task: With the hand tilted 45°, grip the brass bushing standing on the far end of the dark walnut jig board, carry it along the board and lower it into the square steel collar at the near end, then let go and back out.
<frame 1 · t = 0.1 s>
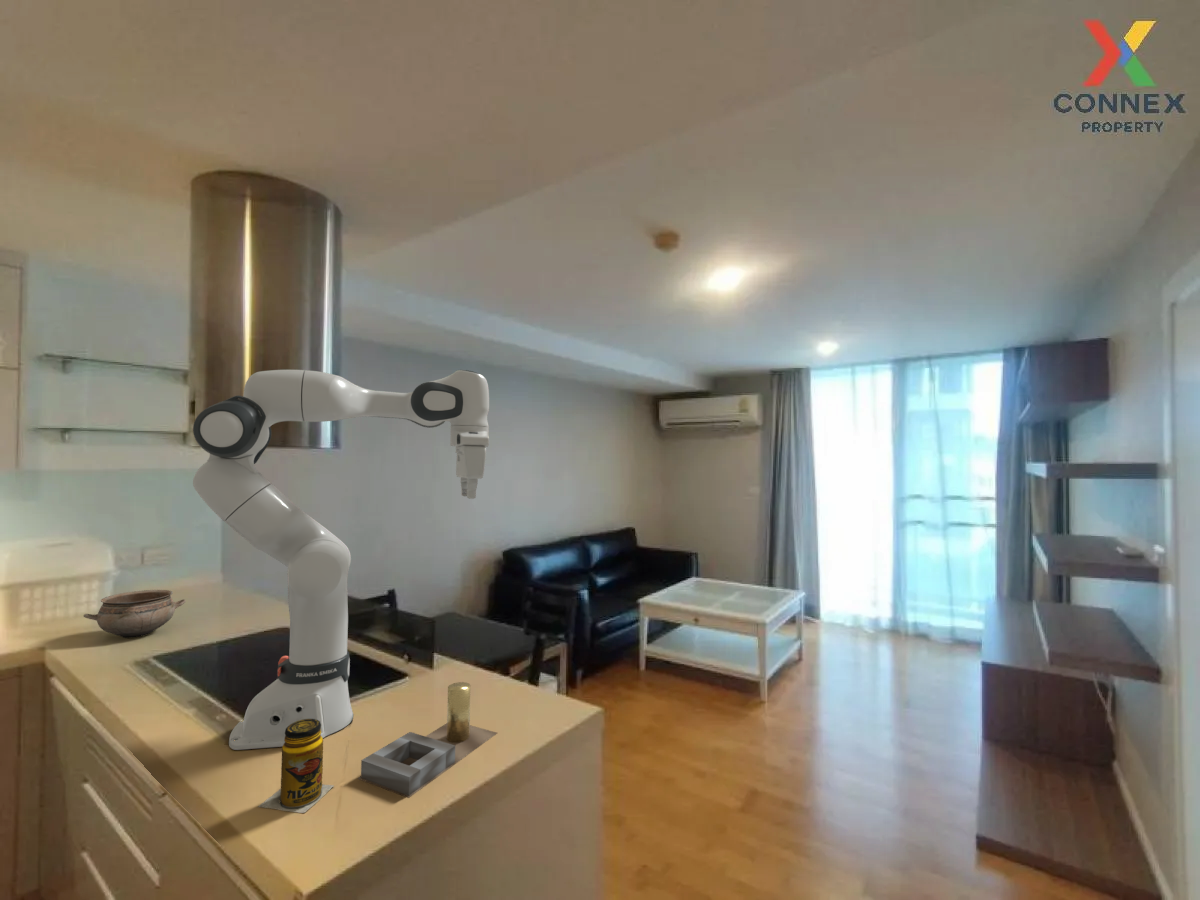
hand: (468, 497, 127), 48 cm above the counter, tool pointing down, fingers open, 8 cm apart
condiment: (297, 798, 89), on the counter
cooking pot: (136, 635, 171), on the counter
jig: (433, 759, 101), on the counter
bushing: (458, 737, 107), point 1 cm above the counter, touching jig
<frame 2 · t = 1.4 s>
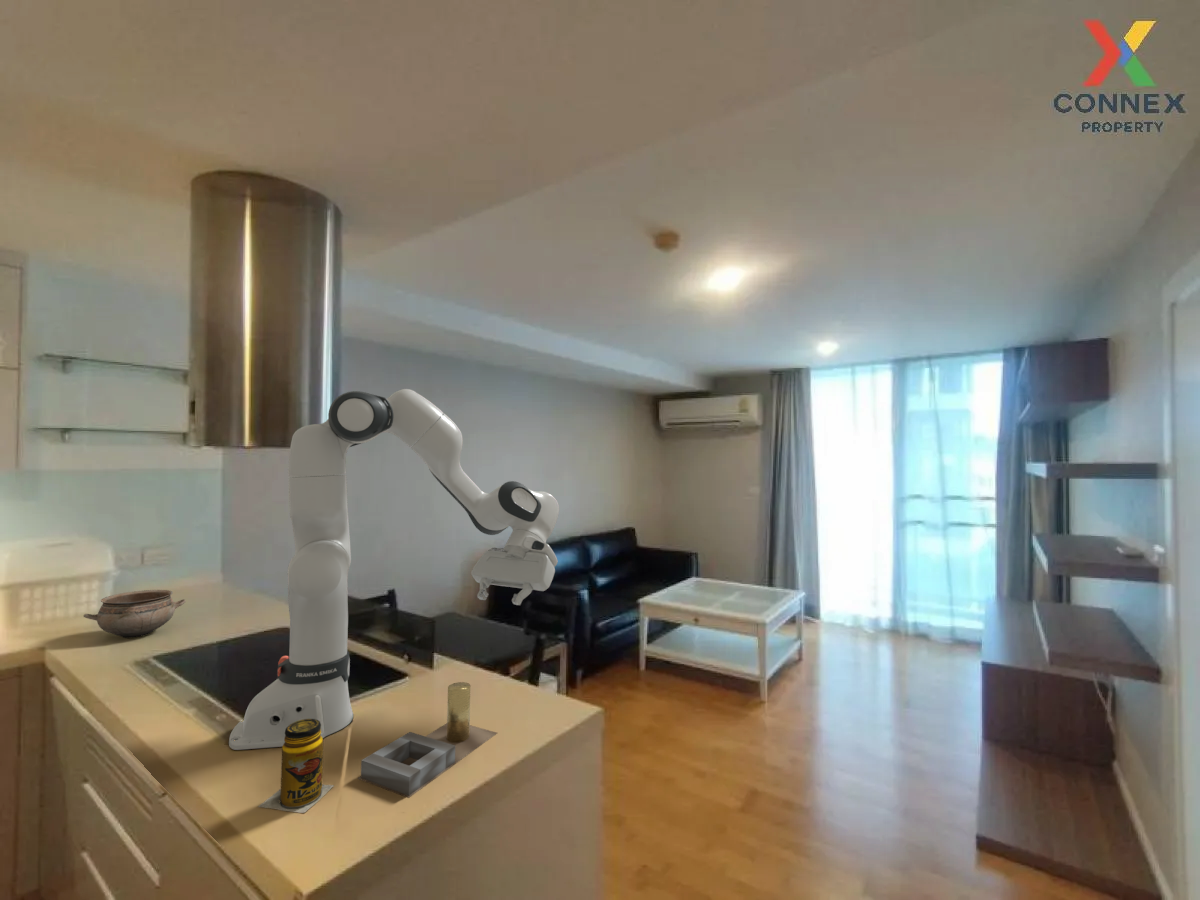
hand: (497, 601, 119), 25 cm above the counter, tool tilted 45°, fingers open, 8 cm apart
nothing on the counter moved.
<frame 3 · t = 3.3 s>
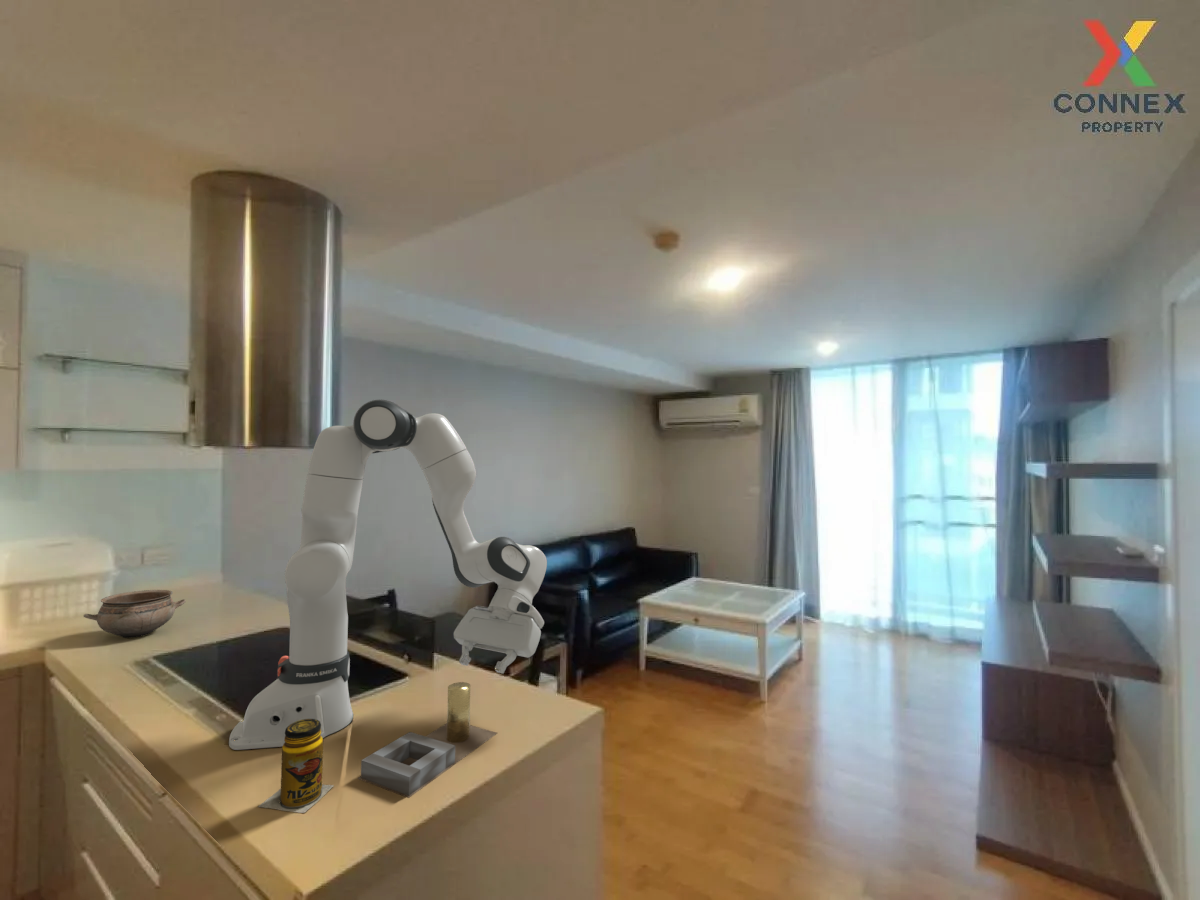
hand: (480, 667, 114), 12 cm above the counter, tool tilted 45°, fingers open, 8 cm apart
nothing on the counter moved.
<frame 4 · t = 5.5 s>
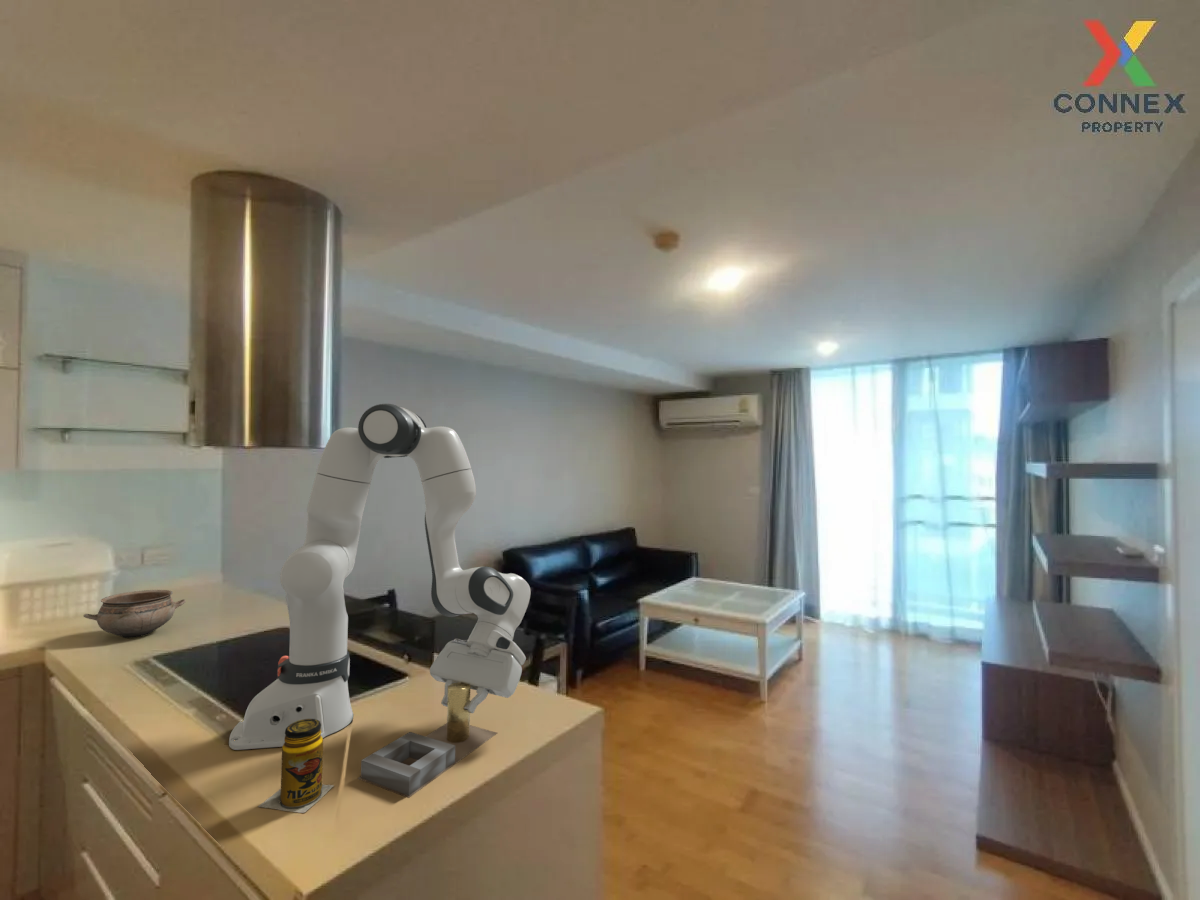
hand: (456, 708, 107), 7 cm above the counter, tool tilted 45°, fingers closed on bushing, 4 cm apart
bushing: (458, 737, 107), point 1 cm above the counter, touching gripper, jig
everything else where it was.
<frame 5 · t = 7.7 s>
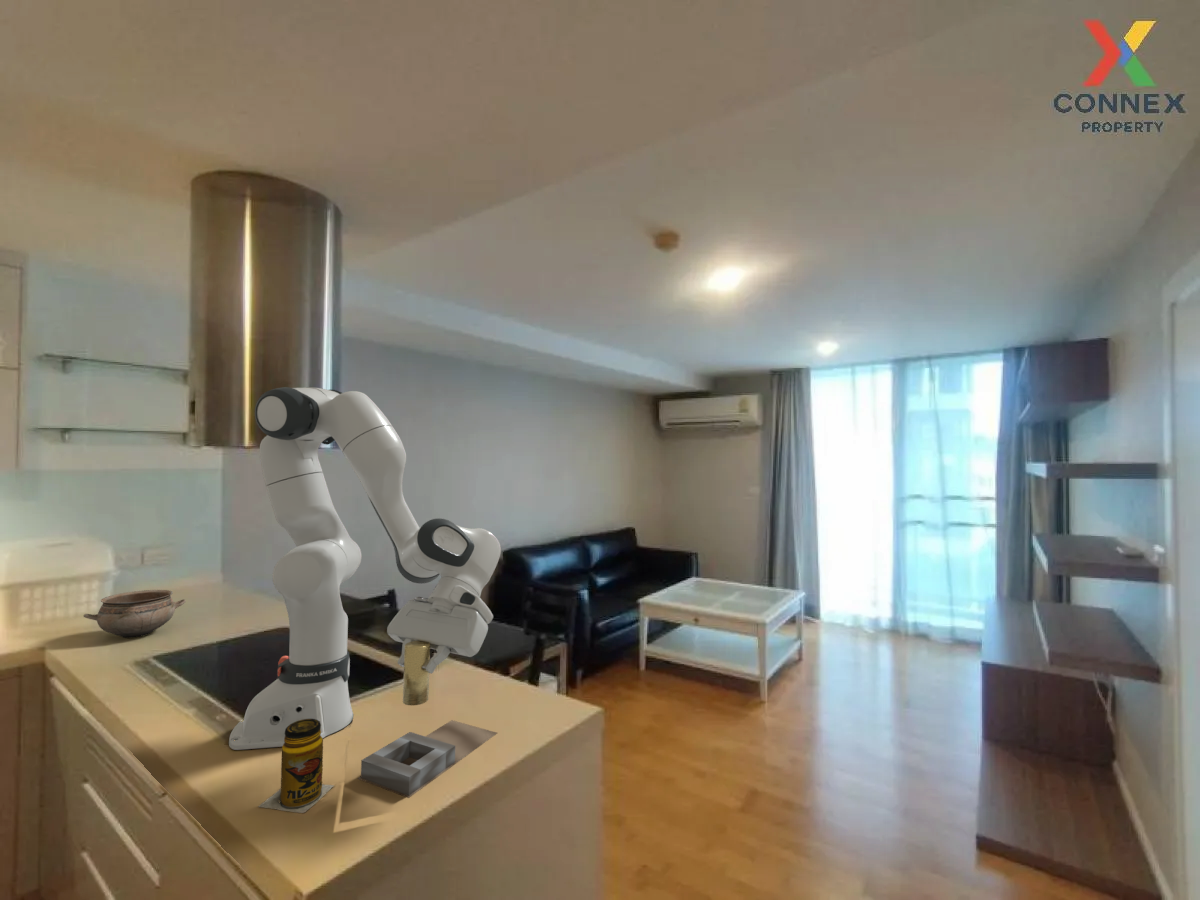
hand: (414, 668, 97), 19 cm above the counter, tool tilted 45°, fingers closed on bushing, 4 cm apart
bushing: (415, 700, 97), point 13 cm above the counter, touching gripper
everything else where it was.
when the fingers open (8 cm above the counter, at t = 10.2 s): bushing drops 1 cm, resting on jig.
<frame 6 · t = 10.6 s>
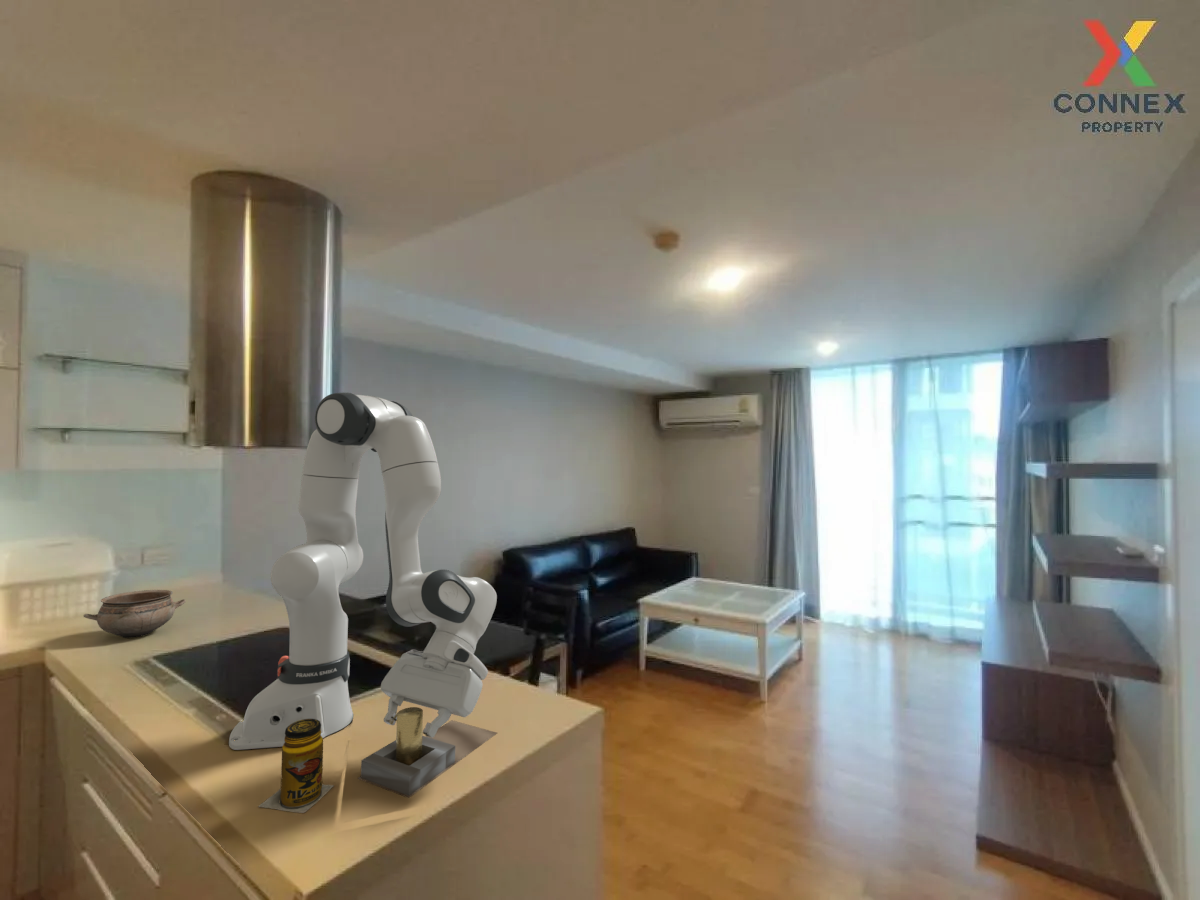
hand: (407, 729, 95), 8 cm above the counter, tool tilted 45°, fingers open, 8 cm apart
bushing: (408, 769, 96), point 1 cm above the counter, touching jig
everything else where it was.
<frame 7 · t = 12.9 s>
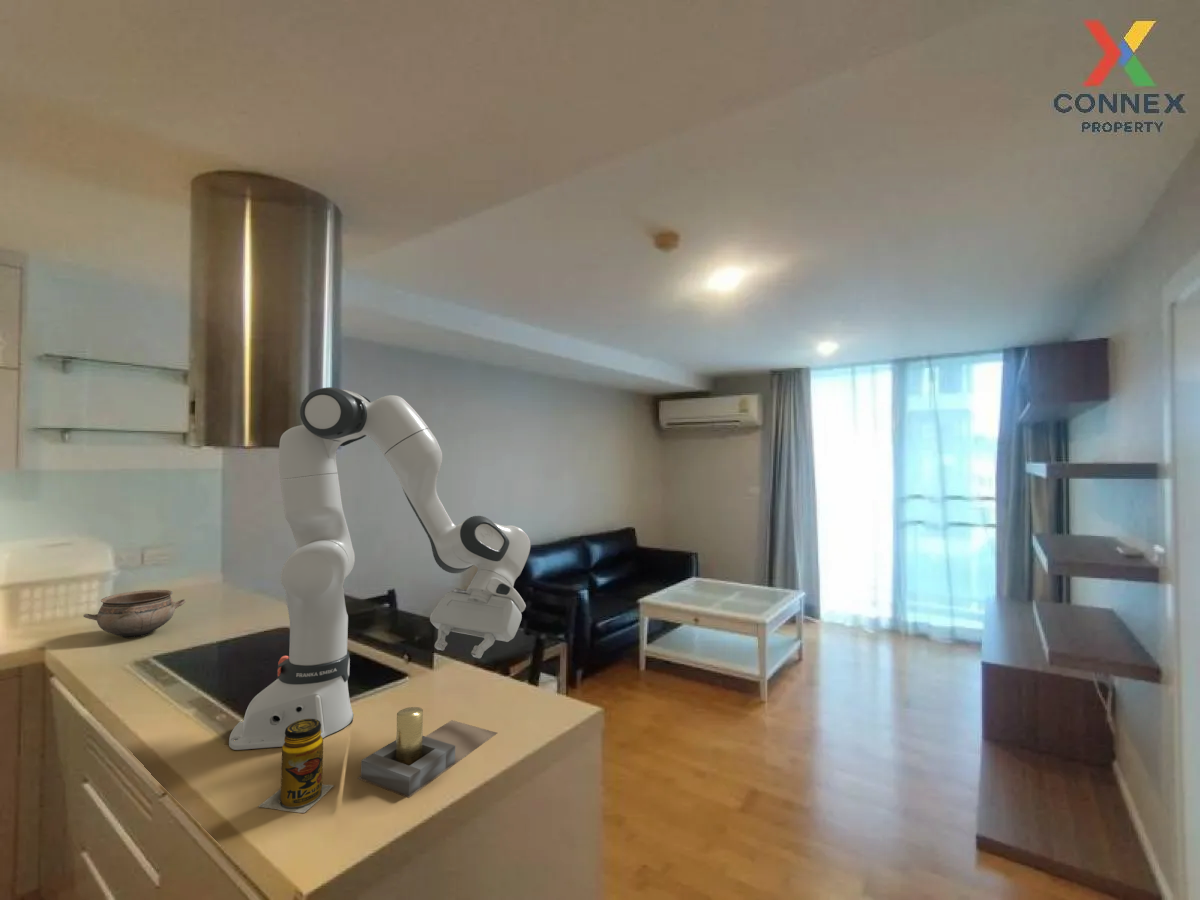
hand: (456, 652, 107), 18 cm above the counter, tool tilted 45°, fingers open, 8 cm apart
nothing on the counter moved.
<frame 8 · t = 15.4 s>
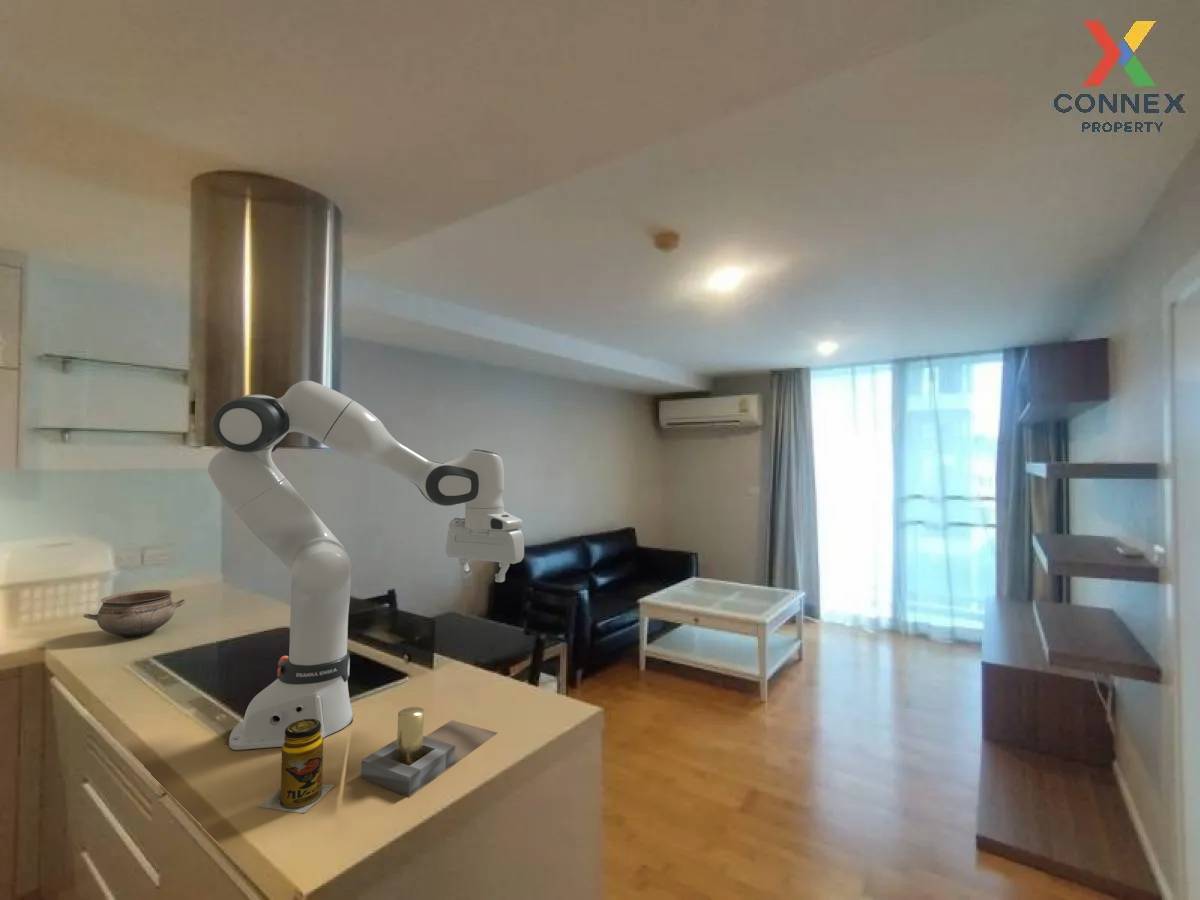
hand: (483, 579, 124), 29 cm above the counter, tool pointing down, fingers open, 8 cm apart
nothing on the counter moved.
at the end: bushing 0.1 cm from the target spot on the jig, point 1.0 cm above the jig's base; bushing tilted 1°; the gripper is holding nothing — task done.
